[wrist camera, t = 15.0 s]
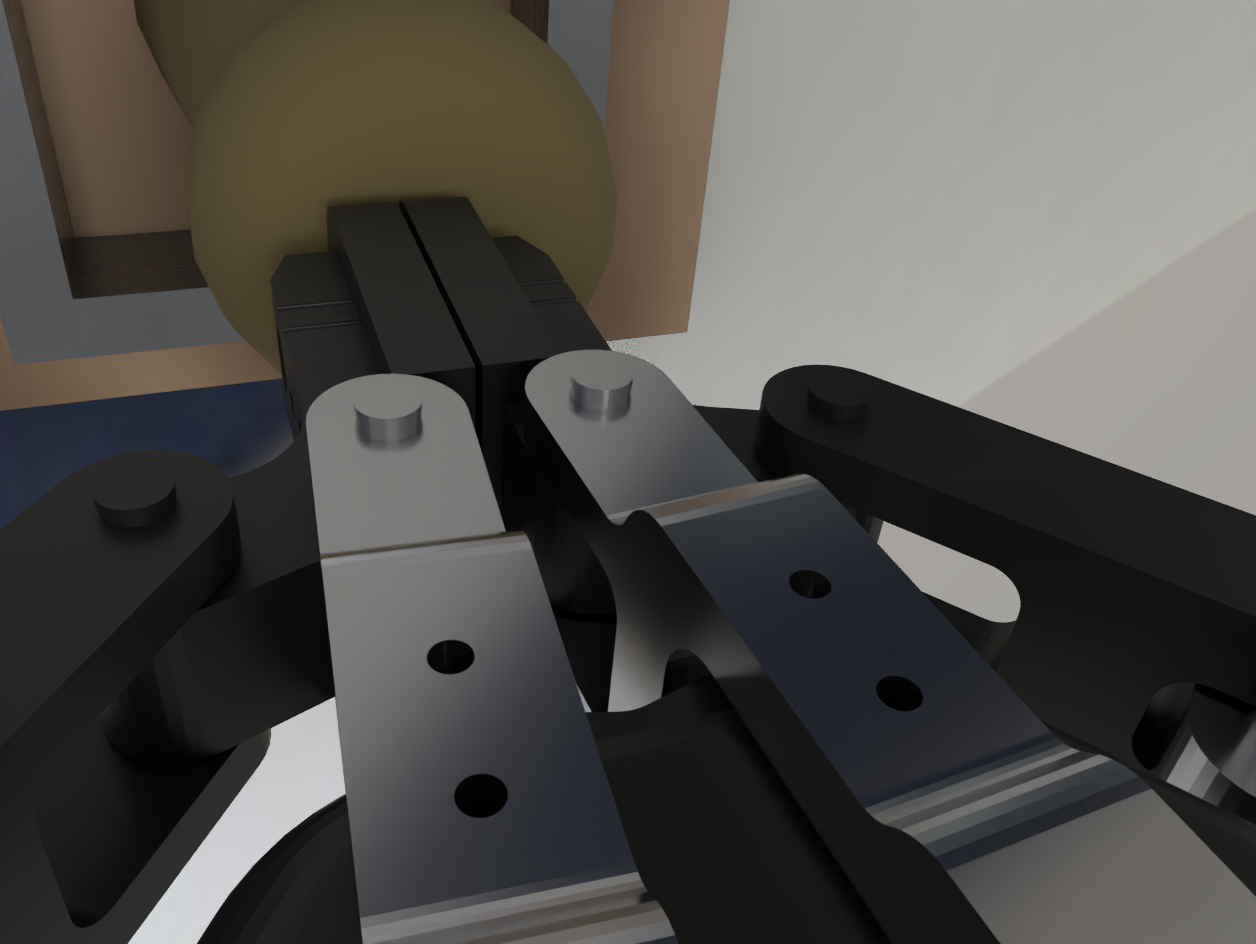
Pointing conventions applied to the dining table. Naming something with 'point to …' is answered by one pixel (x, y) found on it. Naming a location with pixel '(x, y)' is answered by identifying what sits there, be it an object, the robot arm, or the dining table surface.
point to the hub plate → (161, 136)
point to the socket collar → (156, 261)
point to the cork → (373, 132)
